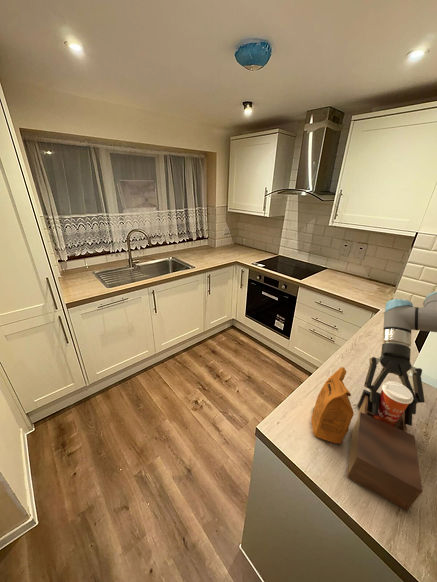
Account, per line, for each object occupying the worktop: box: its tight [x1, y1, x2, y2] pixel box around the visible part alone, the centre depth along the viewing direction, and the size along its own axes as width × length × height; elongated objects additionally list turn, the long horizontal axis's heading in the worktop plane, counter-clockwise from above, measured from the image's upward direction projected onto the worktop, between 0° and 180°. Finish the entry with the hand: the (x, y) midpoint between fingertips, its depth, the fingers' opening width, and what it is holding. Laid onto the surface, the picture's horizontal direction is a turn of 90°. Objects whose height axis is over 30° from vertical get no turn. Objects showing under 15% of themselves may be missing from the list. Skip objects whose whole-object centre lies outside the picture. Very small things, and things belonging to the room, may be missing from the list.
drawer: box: [356, 389, 408, 433], centre depth 77 cm, size 20×12×8 cm, turn 148°
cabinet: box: [346, 412, 423, 512], centre depth 65 cm, size 16×14×10 cm
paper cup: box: [373, 380, 413, 426], centre depth 72 cm, size 8×8×14 cm
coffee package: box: [311, 366, 355, 444], centre depth 74 cm, size 10×12×22 cm
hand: (391, 419), depth 70 cm, fingers closed on paper cup, 8 cm apart
